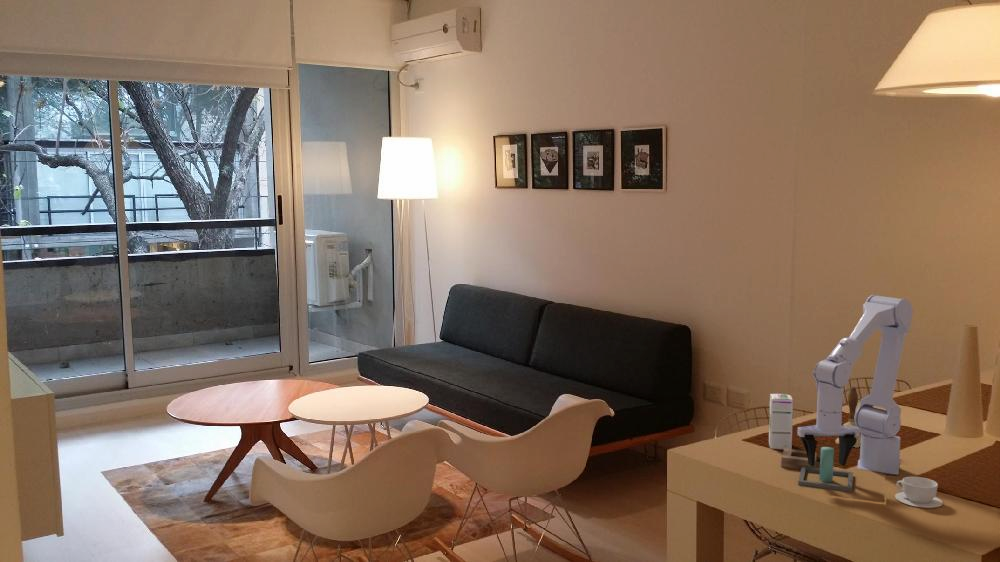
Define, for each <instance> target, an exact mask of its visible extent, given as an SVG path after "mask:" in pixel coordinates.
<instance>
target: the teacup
mask: <svg viewBox="0 0 1000 562" xmlns="http://www.w3.org/2000/svg"><path fill="white" fill-rule="evenodd" d="M900 484H901V486H902V488H901V486H900ZM895 485H896V488H897V490H899V491H900V492H898V493H896V494H895V495H894V498H895V499H896V500H897V501H898V502H901V503H903V504H905V505H909V506H913V507H917V508H925V509H926V508H928V509H931V508H932V509H933V508H940V507H941V506H943V504H944V503H943V501H942V499H940V498H939V497H937V496H936V495H937V491H938V488H939V487H938V485H939V484H938V482H937V481H935V480H932V479H931V478H926V477H922V476H907V477H906V476H905V477H903V478H902V480H898V481H896V484H895Z"/></svg>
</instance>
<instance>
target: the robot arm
mask: <svg viewBox="0 0 1000 562" xmlns="http://www.w3.org/2000/svg"><path fill="white" fill-rule="evenodd" d="M913 313H914V309H913V306H912V304H911V302H910V301H909V300H908V299H907V298H897V297H889V296H884V295H883V296H881V295H877V294H871V295H869V296H868V297H867V299H865V302H864V303H863V304H862V316H861V318H859V320H858V322H857V324H856V325H855V327H854V328H853V329H852V332H851V333H850V335H849V337H843V338H841V339H840V341H839V342H838V343H837V345H836V346H835V347H834V348H833V350H832V351H831V352H830V353H829V355H828V356H827V358H826V359H823V360H822V359H821V360H820V361H818V362H817V363H816V365H815V367H814V371H812V375H813V376H812V377H813V379H814V382H815V388H816V390H817V401H816V402H817V403H816V422H815V423H816V424H814V425H807V426H798V427H797V436H799V438H800V439H801V442H802V444H803V447H804V451H806V453H807V458H808V464H809V465H811V466H814V465H815V452H817V451H816V450H817V445H818V440H817V439H816V437H833V436H834V437H835V436H836V437H837V436H838V437H837V438H839V445H838V446H839V447H838V448H839V452H838V464H839V465H841V466H842V467H844V466H846V464H847V460H848V457H849V455H850V453H851V451H852V450H853V446H854V445H855V444H856V441H857V439H856V438H855V436H859V432H861V447H860V448H859V449H860V450H859V459H858V460H857V469H858V470H861V471H862V470H863V471H868V472H869V471H870V472H876V473H877V472H880V473H883V474H888V475H896V476H899V474H900V471H899V470H900V466H901V458H900V456H901V455H900V453H901V436H897V434H898V432H899V431H900V429H901V426H902V420H901V414H902V413H901V412H902V408H901V407H900V405H899V404H898V403H897V402H896V401H895V400H894V399H893V398H894V393H895V388H896V384H897V378H898V372H899V369H900V363H901V360H902V359H901V358H902V354H903V349H904V343H905V338H906V335H907V333H909V331H910V327H911V323H912V318H913ZM877 329H879V330H880V332H881V334H882V337H881V341H880V346H879V351H878V356H877V361H876V365H875V370H874V375H873V378H872V379H873V380H872V384H871V390H870V394H868V395H867V396H864V397H862V398H861V399H860V400H859V404H858V407H857V408H856V410H855V416H854V420H855V424H856V426H857V427H856V426H843V425H842V421H843V420H842V419H843V402H844V401H843V400H844V386H846V385H847V384H848V382H849V381H850V377H851V373H852V370H853V366H854V365H855V363H856V362H857V361H858V359H859V358H860V357H861V356H862V354H863V347H862V346H863V345H864V344H865V343H866V342H867V340H868V339H869V338H870V337H871V336H872V335H873V333H874V332H875V331H877ZM815 466H816V465H815Z"/></svg>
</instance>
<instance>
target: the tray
mask: <svg viewBox="0 0 1000 562" xmlns="http://www.w3.org/2000/svg"><path fill="white" fill-rule="evenodd" d="M806 472H807V473H808V472H809V473H815V474H816V473H817V474H820V467H816V466H815V467H807V466H802V468H801V469H800V473H799V476H798V482H797V483H798V484H797V485H798V486H805V487H812V488H818V489H825V490H826V489H827V490H832V491H833V490H835V491H842V492H849V493H852V492H853V479H854V472H853V471H846V470H845V471H844V470H838V469H833V476H840V477H848V478H847V485H841V484H835V483H829V482H821V481H819V482H818V481H812V480H805V476H806Z"/></svg>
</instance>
